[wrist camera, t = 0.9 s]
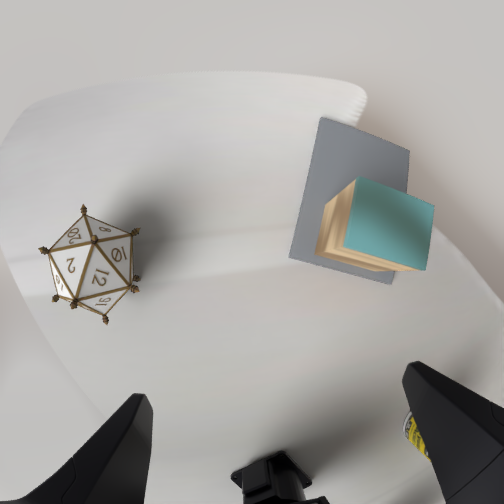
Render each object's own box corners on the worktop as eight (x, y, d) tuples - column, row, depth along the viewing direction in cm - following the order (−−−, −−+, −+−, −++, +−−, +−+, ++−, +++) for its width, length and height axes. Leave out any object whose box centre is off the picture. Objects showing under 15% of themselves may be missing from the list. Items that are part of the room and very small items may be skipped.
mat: (388, 284, 25) (391, 284, 24) (288, 257, 25) (289, 257, 24) (406, 152, 26) (409, 150, 25) (319, 119, 26) (321, 116, 25)
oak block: (375, 271, 24) (425, 270, 16) (313, 254, 24) (346, 245, 16) (384, 223, 25) (434, 205, 17) (325, 204, 25) (359, 175, 17)
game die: (111, 268, 28) (27, 240, 20) (158, 214, 25) (64, 169, 17) (126, 345, 23) (22, 329, 15) (184, 296, 21) (56, 261, 13)
